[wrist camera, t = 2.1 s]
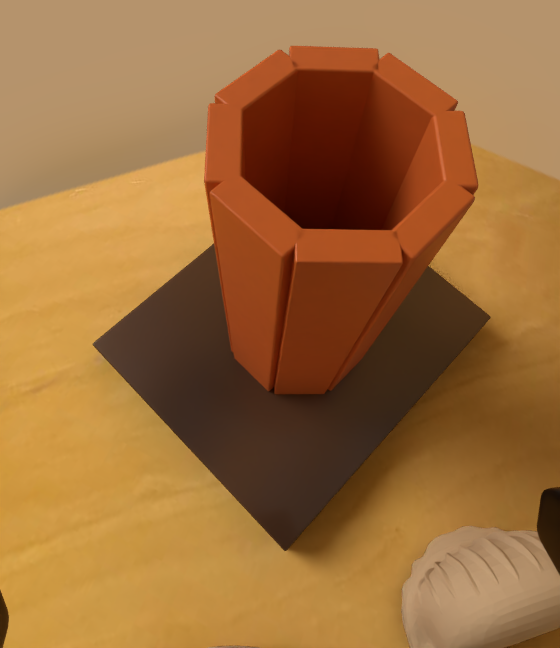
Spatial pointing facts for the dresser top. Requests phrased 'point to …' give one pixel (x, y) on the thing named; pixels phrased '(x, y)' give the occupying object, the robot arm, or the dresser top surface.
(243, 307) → the octagonal orange vase
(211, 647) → the fat ring
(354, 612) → the dresser top surface
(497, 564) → the decorative ornament
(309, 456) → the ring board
